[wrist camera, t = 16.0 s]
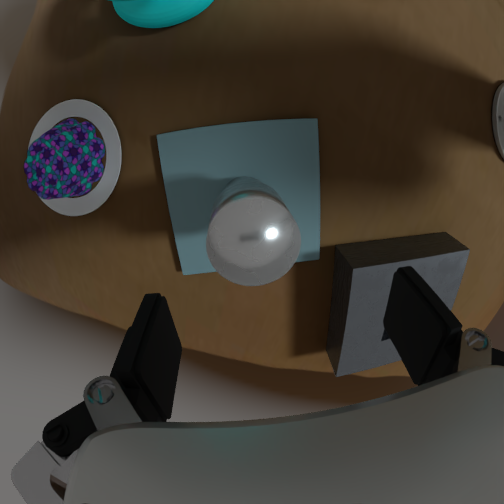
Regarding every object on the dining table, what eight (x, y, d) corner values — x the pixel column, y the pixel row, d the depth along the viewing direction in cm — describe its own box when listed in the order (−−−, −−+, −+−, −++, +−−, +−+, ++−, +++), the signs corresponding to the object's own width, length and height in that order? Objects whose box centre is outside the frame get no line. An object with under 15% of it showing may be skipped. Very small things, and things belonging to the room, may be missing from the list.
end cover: (274, 166, 24) (299, 194, 15) (278, 225, 26) (301, 279, 18) (210, 173, 24) (198, 205, 15) (218, 232, 26) (214, 290, 18)
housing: (445, 231, 29) (469, 249, 25) (420, 326, 37) (435, 348, 32) (335, 245, 29) (353, 268, 24) (325, 349, 36) (336, 376, 32)
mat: (314, 118, 23) (317, 118, 22) (317, 255, 29) (319, 259, 28) (158, 134, 22) (156, 134, 22) (184, 271, 29) (183, 275, 28)
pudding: (148, 141, 23) (129, 147, 18) (88, 234, 26) (66, 257, 22) (65, 79, 19) (36, 76, 14) (18, 174, 22) (-11, 187, 17)
